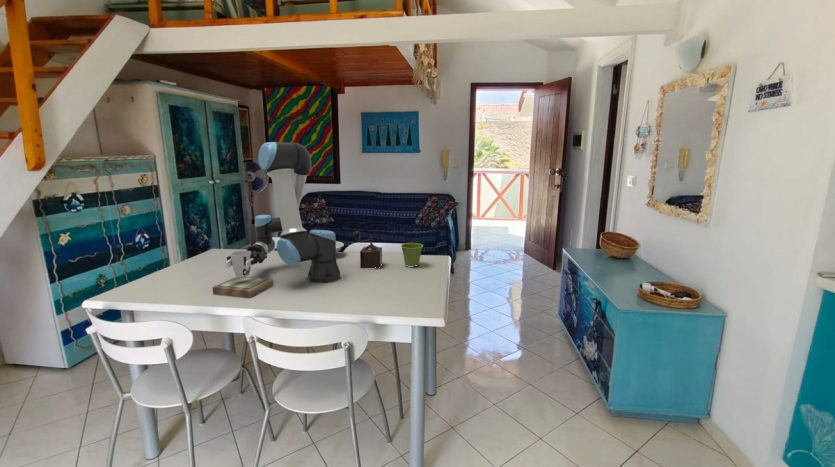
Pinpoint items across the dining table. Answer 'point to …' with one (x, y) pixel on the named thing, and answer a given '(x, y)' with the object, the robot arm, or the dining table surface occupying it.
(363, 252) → the manual coffee grinder
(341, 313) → the dining table surface
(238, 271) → the cup
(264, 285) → the wooden tray
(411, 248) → the plant pot
